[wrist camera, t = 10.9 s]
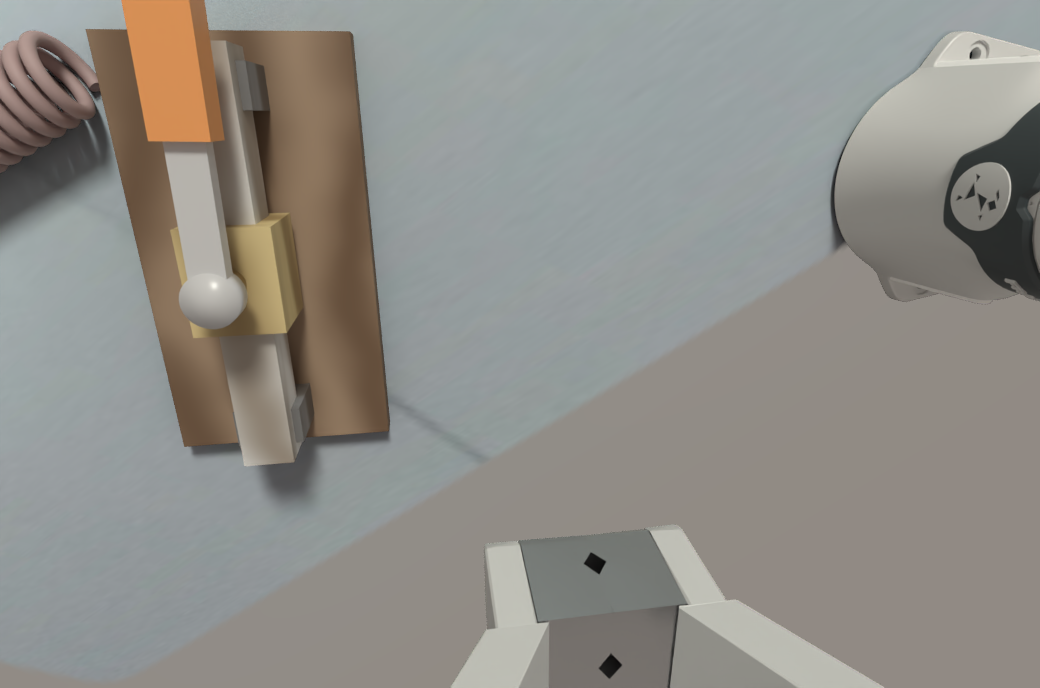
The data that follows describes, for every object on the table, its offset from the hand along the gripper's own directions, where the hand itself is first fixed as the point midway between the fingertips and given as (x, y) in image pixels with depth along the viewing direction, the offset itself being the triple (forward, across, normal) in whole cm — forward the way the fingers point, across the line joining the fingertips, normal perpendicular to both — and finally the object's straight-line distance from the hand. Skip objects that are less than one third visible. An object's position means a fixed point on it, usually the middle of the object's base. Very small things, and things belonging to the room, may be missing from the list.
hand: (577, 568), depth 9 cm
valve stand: (+34, +13, +2) cm, 37 cm away
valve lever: (+25, +13, -4) cm, 28 cm away
